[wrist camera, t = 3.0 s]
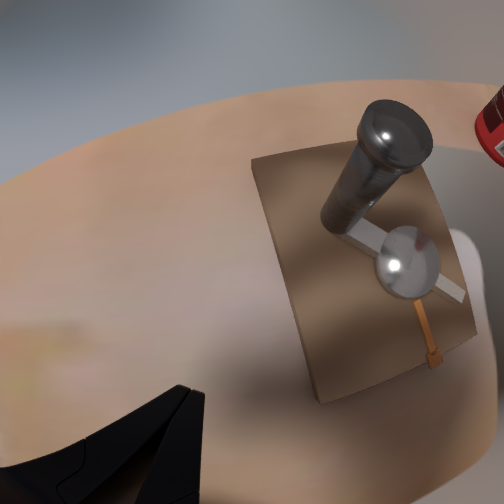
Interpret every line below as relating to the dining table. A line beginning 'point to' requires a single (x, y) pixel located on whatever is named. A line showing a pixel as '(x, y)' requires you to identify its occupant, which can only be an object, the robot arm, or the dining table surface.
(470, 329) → the stand
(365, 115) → the crank handle
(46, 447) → the dining table surface
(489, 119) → the canned food
